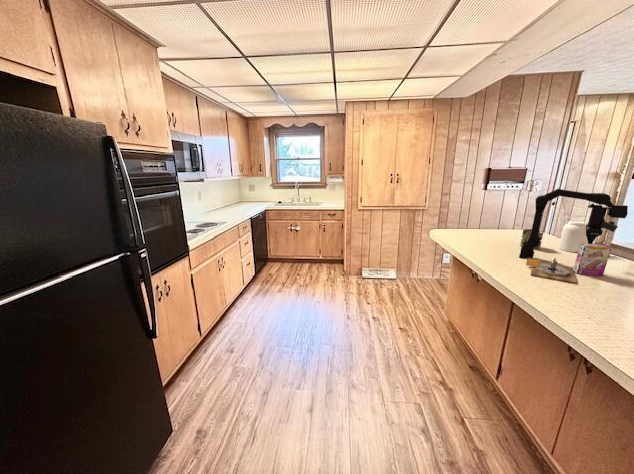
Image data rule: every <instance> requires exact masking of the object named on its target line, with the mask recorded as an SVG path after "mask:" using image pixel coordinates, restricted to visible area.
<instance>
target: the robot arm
mask: <svg viewBox="0 0 634 474" xmlns="http://www.w3.org/2000/svg"><path fill="white" fill-rule="evenodd" d="M558 197H564V198H570V199H576V200H582V201H583V200H585V201H588V202H590V204H589V205H587V208H588V209H591V210H590V214H589V217H588V222H587V223H585V224H586V225H585V226H586V236H587V238H586V241H587V244H594V242H595V240H596V239H597V238H598V237H600V236H602V235H603V231H604V230H603V229H605V230H607V231H610V232H612V233H613V232H615V231H616V230H617V229H618V225H616V224H615V223H616V222H614V221H612V220H610V221H606V219H605V217H606V216H608V218H617V219H626V218H627V217H628V213H629V212H628V207H629V206H628V205H625V204H621V205H618V204H617V205H616V204H614V203H613V202H612V201H611V200H612V198H611V196H610V194H608V193H605V192H583V191H575V190H574V191H573V190H569V189H562V188H555V190H553V191H550V192H547V193H546V194H541V195H538V196H536V198H535V213H534V216H533V222H532V227H531V229H532V230H531V233H530V235H529V237H528V239H527V241H525V242H523V243H522V247H521V246H520V253H519V256H518V257H519V258H521V259H526V260H527V258H534V256H535V249H533V248H535V247H537V246H538V244H540V240H541V236H538V233H539V232H540V228H541V223H542V219H543V216H544V215H543V214H544V211H545V209H546V207H547V204H548V202H550V201H552V200H555V199H556V198H558ZM587 227H588V228H587ZM541 241H542V240H541Z"/></svg>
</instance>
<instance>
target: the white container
mask: <svg viewBox="0 0 634 474" xmlns="http://www.w3.org/2000/svg"><path fill="white" fill-rule="evenodd" d="M586 224H587V223H586V222H584V221H580V220H579V221H578V220H570V221H567V223H566V224H563V225H564V226H563V228H562V230H561V234H560V240H559V243H558V249H559V250H562V251H564V252H569V253H578V250H579V246H580V243H584V244H586V241H587V236H586ZM587 228H588V227H587Z"/></svg>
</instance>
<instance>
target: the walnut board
mask: <svg viewBox="0 0 634 474" xmlns="http://www.w3.org/2000/svg"><path fill="white" fill-rule="evenodd" d="M540 265H551V263H550V264H548V263H545V262H544V263H543V262H540ZM557 267H561V268H564V269H566V270H568V271H569V272H570V274H568V275H567V276H555V275H550V274H546V273H543V272H540V271H539V270H537V269H536V267H532V266H530V276H531V277H534V278H535V277H536V278H541V279H546V280H552V281H555V282H556V281H557V282H561V283H562V282H563V283H568V284H573V285H577V284H578V281H577V279H576V275H575V272H574V271H573V268H572V267H569V266H561V265H557Z"/></svg>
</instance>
